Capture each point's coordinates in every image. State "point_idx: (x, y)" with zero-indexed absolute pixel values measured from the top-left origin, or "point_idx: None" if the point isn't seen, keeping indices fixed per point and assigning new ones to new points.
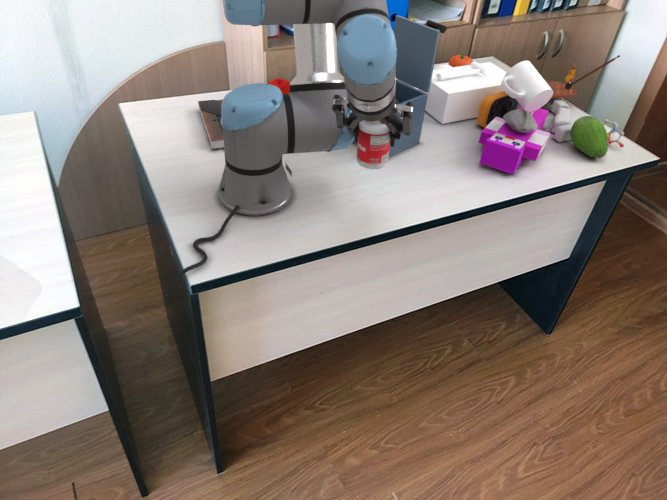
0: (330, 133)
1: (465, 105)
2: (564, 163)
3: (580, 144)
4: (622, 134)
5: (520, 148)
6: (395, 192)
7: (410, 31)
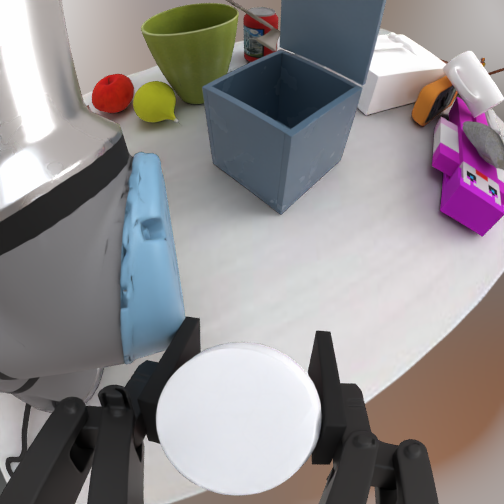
0: (93, 362)
1: (396, 91)
2: None
3: None
4: None
5: (501, 204)
6: (310, 318)
7: None
